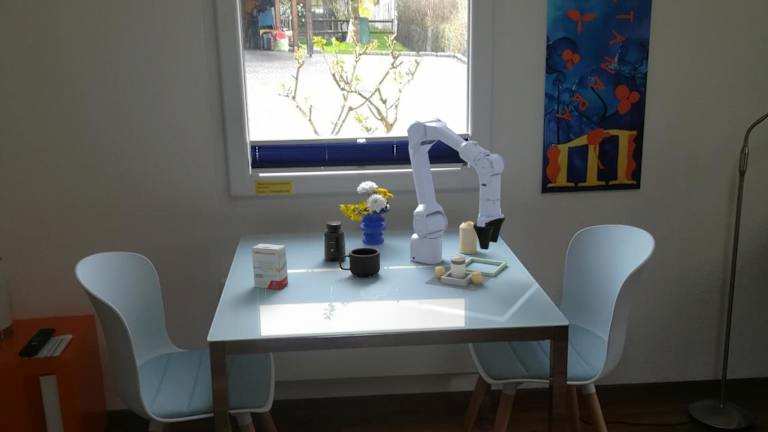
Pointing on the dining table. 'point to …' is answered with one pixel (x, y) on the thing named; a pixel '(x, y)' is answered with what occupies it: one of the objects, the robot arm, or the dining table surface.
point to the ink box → (270, 266)
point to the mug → (363, 262)
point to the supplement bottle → (334, 242)
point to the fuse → (458, 266)
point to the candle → (468, 238)
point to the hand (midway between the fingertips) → (488, 245)
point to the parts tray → (484, 273)
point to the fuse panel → (469, 283)
